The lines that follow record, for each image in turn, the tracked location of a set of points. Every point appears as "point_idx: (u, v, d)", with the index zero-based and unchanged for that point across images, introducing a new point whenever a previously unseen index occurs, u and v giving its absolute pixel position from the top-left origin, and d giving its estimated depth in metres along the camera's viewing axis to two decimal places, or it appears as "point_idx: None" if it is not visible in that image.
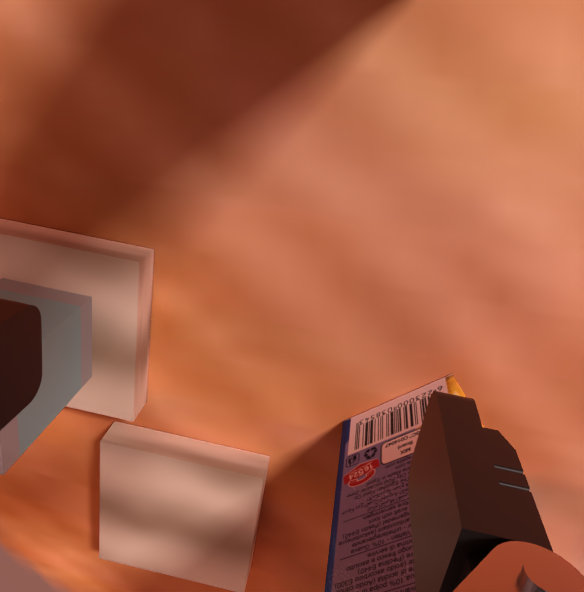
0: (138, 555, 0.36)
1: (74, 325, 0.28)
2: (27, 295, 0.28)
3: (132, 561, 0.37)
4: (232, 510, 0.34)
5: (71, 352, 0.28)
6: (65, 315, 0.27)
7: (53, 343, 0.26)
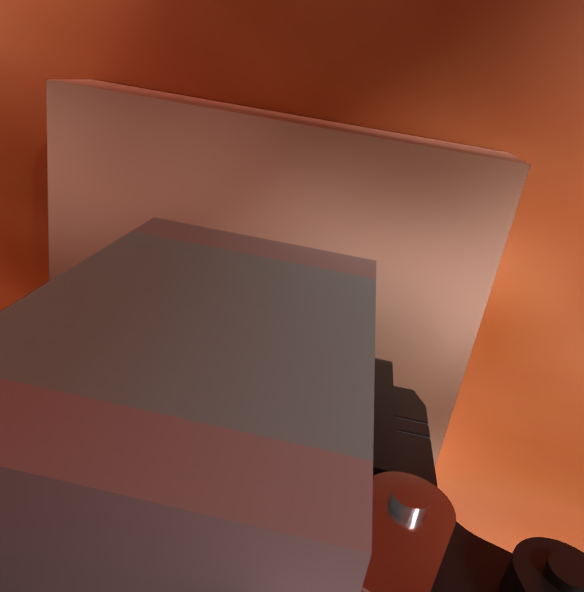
0: None
1: None
2: (234, 252, 0.11)
3: None
4: None
5: None
6: (366, 299, 0.10)
7: None
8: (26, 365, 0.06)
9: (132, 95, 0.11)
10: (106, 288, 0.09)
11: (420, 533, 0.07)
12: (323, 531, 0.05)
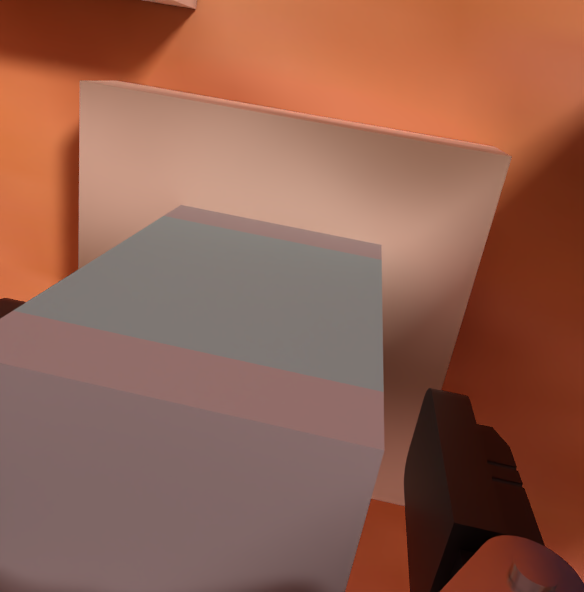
0: None
1: None
2: (255, 236, 0.12)
3: None
4: (410, 271, 0.13)
5: None
6: (373, 276, 0.11)
7: None
8: (98, 317, 0.08)
9: None
10: (150, 261, 0.10)
11: None
12: (347, 435, 0.06)
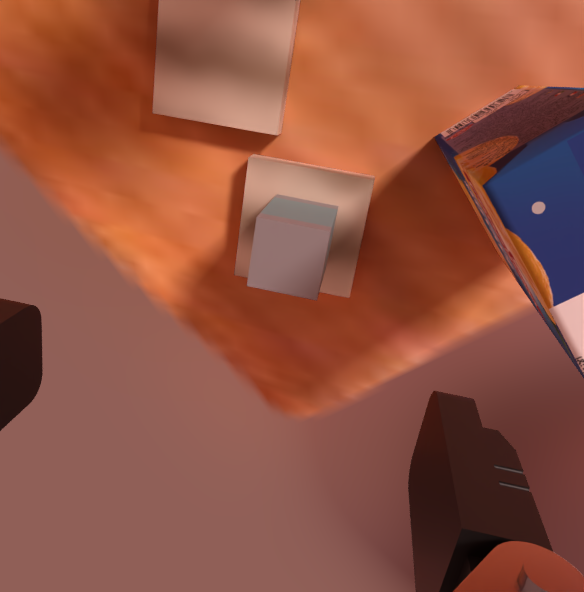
0: None
1: None
2: (301, 202, 0.43)
3: None
4: (347, 214, 0.44)
5: (331, 239, 0.43)
6: (334, 212, 0.42)
7: (333, 226, 0.41)
8: (275, 214, 0.38)
9: None
10: (278, 206, 0.40)
11: None
12: (324, 230, 0.37)
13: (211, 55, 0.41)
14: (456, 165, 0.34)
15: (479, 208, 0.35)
